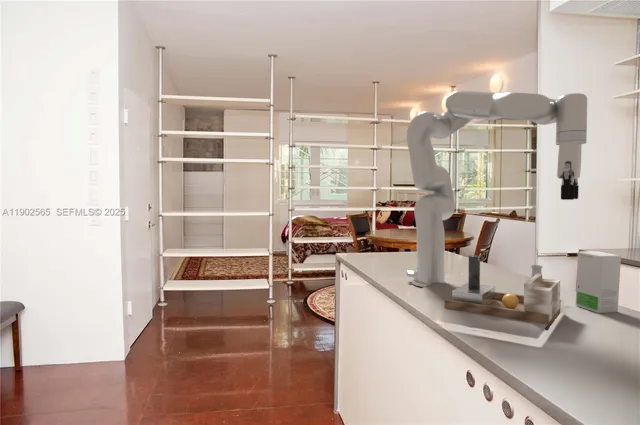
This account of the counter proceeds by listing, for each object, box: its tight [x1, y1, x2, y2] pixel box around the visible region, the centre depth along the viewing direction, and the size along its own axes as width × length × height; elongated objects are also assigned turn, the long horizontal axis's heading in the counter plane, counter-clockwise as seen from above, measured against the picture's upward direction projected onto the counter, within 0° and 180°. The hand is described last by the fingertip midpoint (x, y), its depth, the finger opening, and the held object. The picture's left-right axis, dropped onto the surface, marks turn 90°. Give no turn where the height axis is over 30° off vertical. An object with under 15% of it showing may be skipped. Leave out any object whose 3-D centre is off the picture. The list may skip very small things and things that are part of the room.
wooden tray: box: [444, 273, 562, 331], centre depth 116 cm, size 25×18×10 cm
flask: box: [530, 264, 543, 279], centre depth 132 cm, size 7×7×10 cm
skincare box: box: [575, 250, 622, 314], centre depth 119 cm, size 8×7×16 cm
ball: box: [502, 293, 519, 309], centre depth 115 cm, size 4×4×4 cm
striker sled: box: [451, 255, 496, 305], centre depth 121 cm, size 8×12×13 cm, turn 143°
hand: (569, 199), depth 124 cm, fingers open, 9 cm apart
